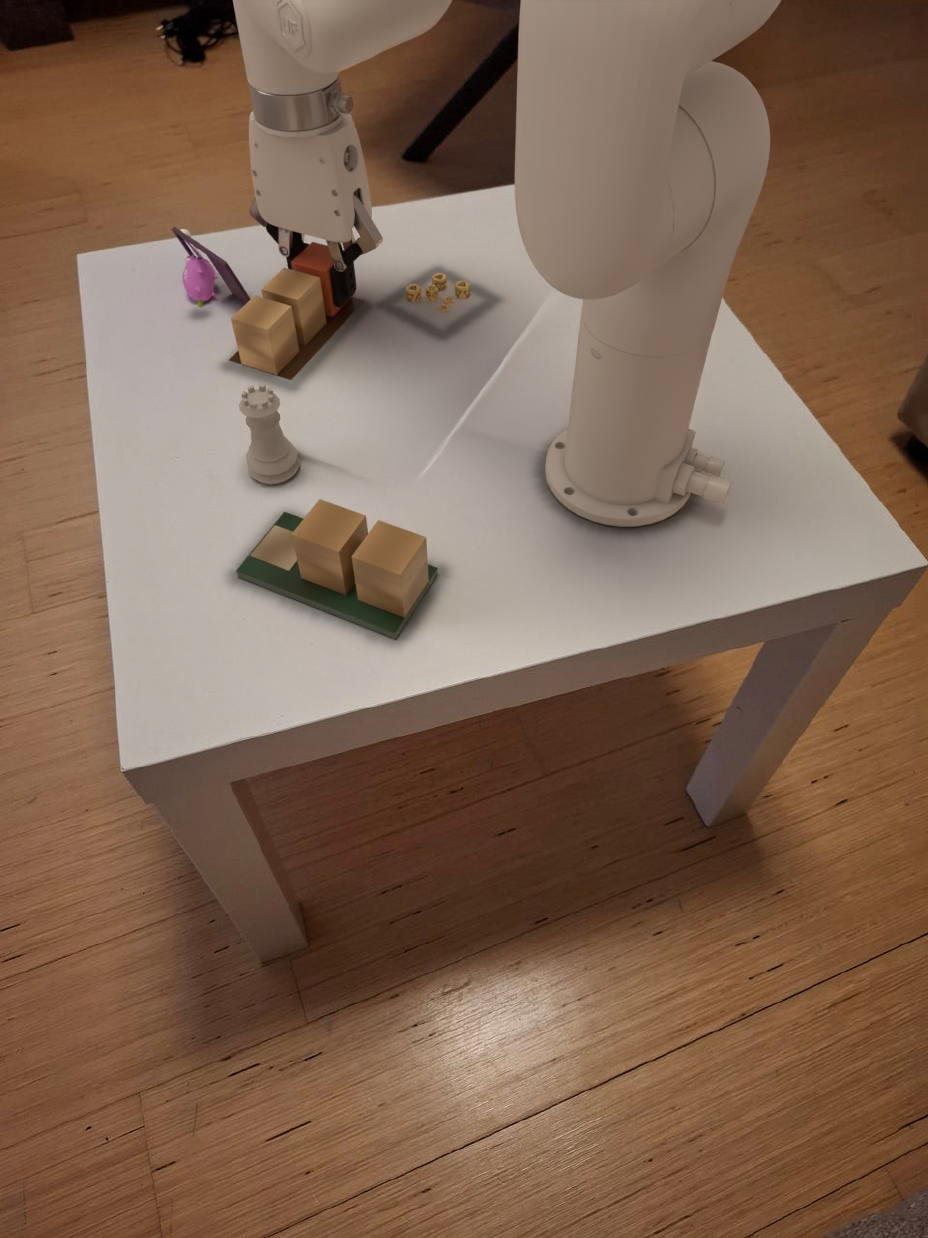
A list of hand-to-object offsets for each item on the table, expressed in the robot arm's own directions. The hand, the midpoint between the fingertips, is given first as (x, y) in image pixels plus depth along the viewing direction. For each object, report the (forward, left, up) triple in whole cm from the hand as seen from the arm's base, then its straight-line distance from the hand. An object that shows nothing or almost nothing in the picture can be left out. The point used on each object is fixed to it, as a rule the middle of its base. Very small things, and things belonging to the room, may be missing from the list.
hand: (324, 292), depth 91 cm
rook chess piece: (-8, +22, -2) cm, 23 cm away
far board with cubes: (0, +5, -2) cm, 5 cm away
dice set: (-10, -6, -2) cm, 12 cm away
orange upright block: (0, 0, -1) cm, 1 cm away
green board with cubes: (-19, +30, -2) cm, 36 cm away
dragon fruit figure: (+11, +4, -2) cm, 12 cm away
